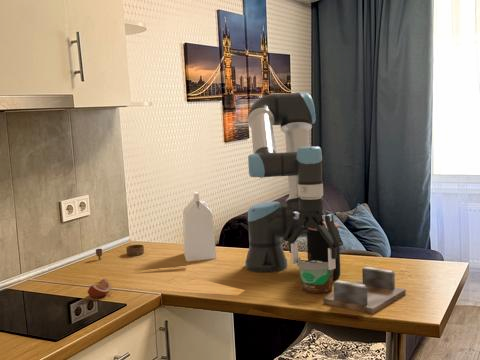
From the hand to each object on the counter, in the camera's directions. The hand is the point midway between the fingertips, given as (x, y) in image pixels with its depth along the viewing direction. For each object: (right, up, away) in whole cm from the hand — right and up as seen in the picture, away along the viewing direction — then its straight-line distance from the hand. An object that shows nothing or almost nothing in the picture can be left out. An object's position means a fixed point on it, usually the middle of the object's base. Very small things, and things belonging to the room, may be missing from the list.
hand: (313, 266), depth 180 cm
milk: (-38, -4, +50) cm, 63 cm away
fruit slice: (-67, -11, +8) cm, 69 cm away
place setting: (-69, -6, +57) cm, 90 cm away
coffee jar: (+6, -6, +17) cm, 19 cm away
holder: (+14, -9, -7) cm, 18 cm away
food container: (+1, -9, +2) cm, 9 cm away
